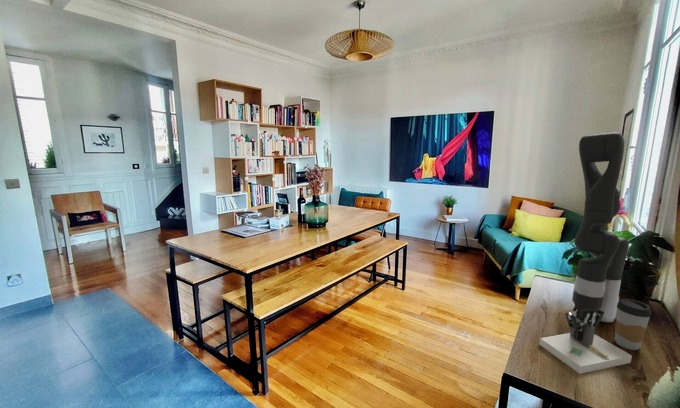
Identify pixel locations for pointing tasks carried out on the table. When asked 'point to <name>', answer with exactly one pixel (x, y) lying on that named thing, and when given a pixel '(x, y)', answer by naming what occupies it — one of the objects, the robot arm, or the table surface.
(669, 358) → the table surface
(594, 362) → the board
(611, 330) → the table surface
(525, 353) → the table surface
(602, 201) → the robot arm
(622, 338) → the coffee cup
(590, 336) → the dark gray beam
